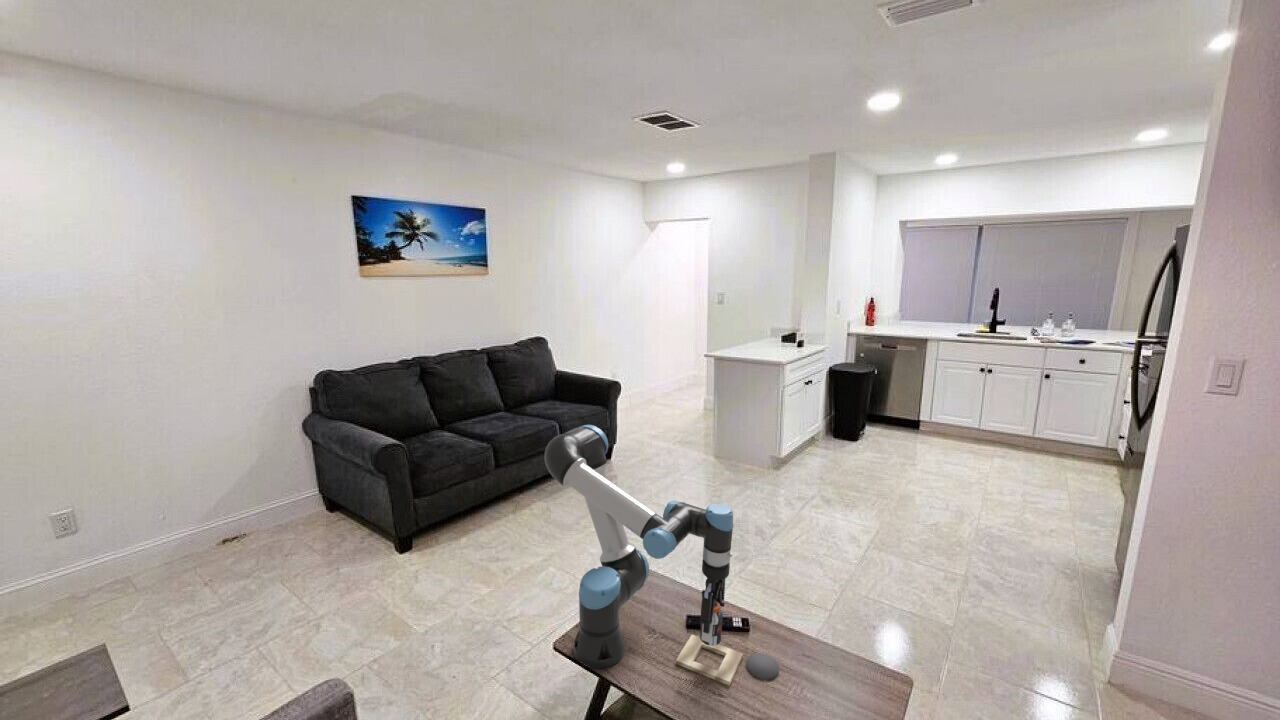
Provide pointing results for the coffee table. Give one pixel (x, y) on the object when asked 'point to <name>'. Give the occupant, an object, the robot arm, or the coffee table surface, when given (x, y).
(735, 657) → the socket board
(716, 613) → the pill bottle
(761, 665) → the grey river stone
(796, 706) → the coffee table surface
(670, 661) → the coffee table surface
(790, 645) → the coffee table surface
